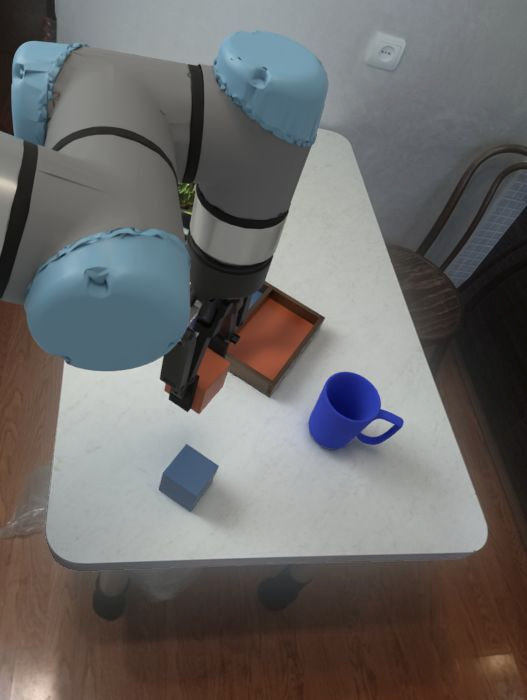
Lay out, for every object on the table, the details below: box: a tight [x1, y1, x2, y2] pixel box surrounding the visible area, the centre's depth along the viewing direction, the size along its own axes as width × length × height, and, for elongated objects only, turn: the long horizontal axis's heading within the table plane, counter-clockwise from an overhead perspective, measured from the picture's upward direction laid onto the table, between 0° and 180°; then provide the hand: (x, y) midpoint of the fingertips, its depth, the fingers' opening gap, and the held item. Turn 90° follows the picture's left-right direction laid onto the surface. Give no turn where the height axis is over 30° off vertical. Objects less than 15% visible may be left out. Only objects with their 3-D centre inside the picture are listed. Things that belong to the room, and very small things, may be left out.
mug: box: [308, 371, 404, 450], centre depth 77 cm, size 8×12×10 cm
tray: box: [190, 280, 326, 398], centre depth 87 cm, size 21×18×3 cm
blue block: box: [158, 443, 219, 513], centre depth 68 cm, size 5×5×5 cm
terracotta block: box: [163, 348, 231, 415], centre depth 62 cm, size 5×5×5 cm
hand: (194, 387), depth 63 cm, fingers closed on terracotta block, 5 cm apart
